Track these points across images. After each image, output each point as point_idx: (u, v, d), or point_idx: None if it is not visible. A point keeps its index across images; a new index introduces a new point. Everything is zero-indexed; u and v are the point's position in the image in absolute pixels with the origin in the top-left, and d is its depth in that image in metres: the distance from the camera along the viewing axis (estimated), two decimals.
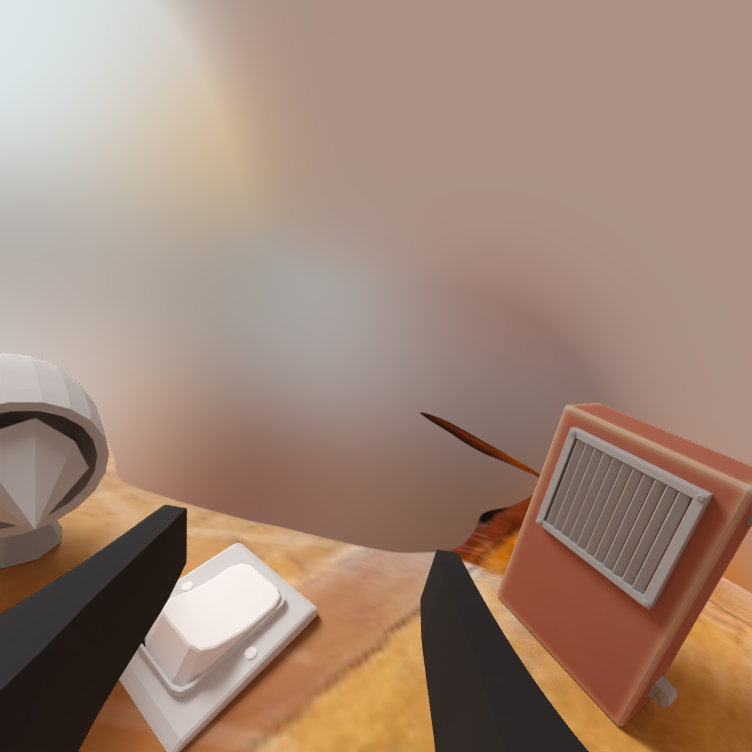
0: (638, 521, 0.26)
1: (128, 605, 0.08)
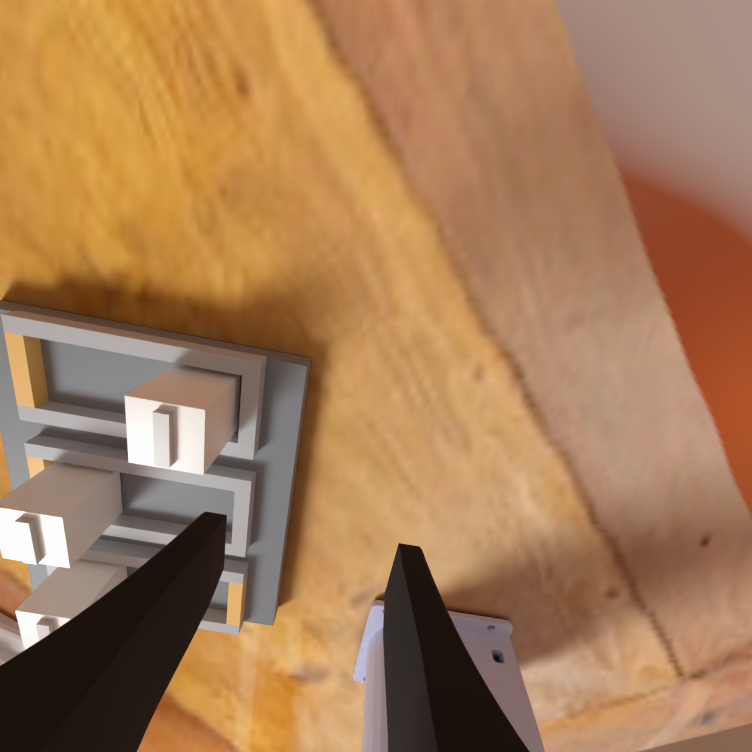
0: None
1: (178, 612, 0.08)
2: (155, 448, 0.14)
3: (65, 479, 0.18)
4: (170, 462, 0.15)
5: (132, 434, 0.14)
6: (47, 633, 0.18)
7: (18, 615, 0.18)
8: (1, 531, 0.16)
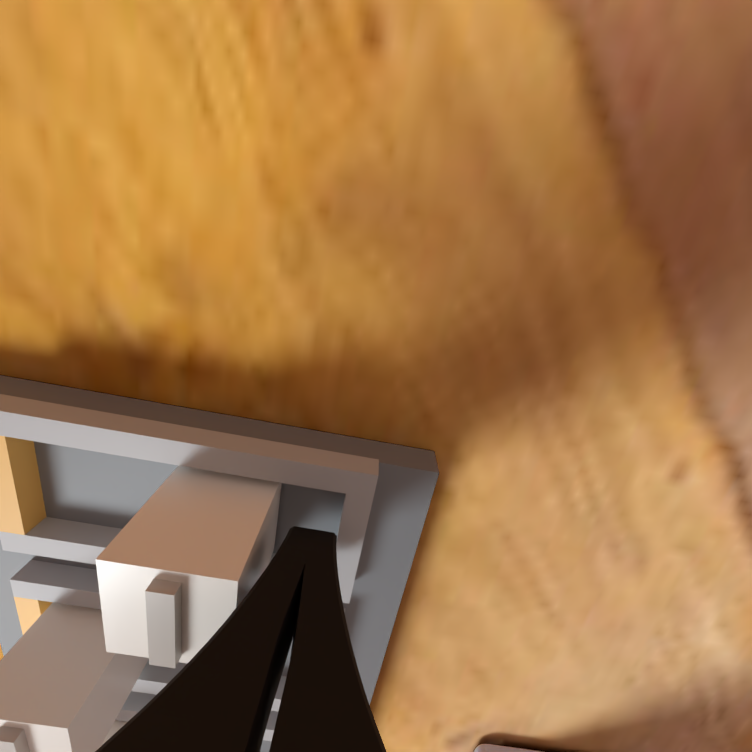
0: None
1: (287, 629, 0.08)
2: (151, 641, 0.08)
3: (71, 636, 0.12)
4: (176, 657, 0.09)
5: (111, 614, 0.08)
6: None
7: None
8: None
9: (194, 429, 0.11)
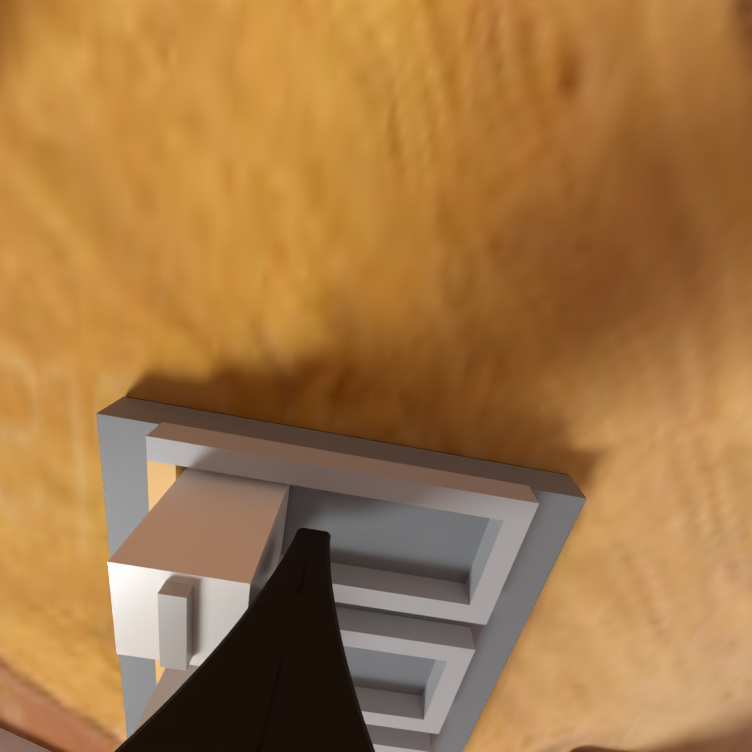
0: None
1: None
2: (162, 643, 0.08)
3: None
4: (187, 659, 0.09)
5: (122, 616, 0.08)
6: None
7: None
8: None
9: (352, 456, 0.11)
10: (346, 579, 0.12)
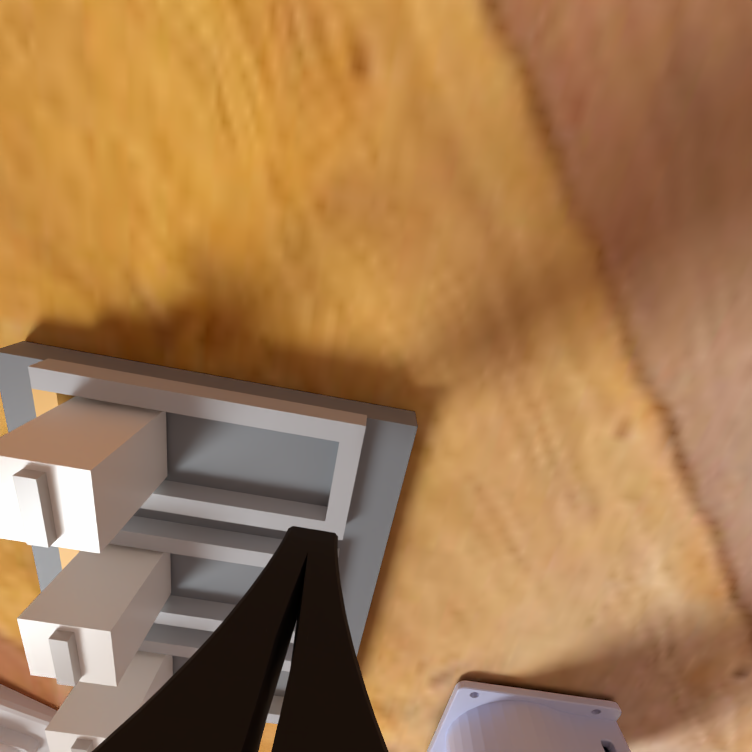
0: None
1: (286, 629, 0.08)
2: (24, 522, 0.10)
3: (107, 567, 0.14)
4: (50, 539, 0.11)
5: None
6: None
7: (48, 735, 0.15)
8: (30, 646, 0.13)
9: (212, 389, 0.13)
10: (219, 499, 0.14)
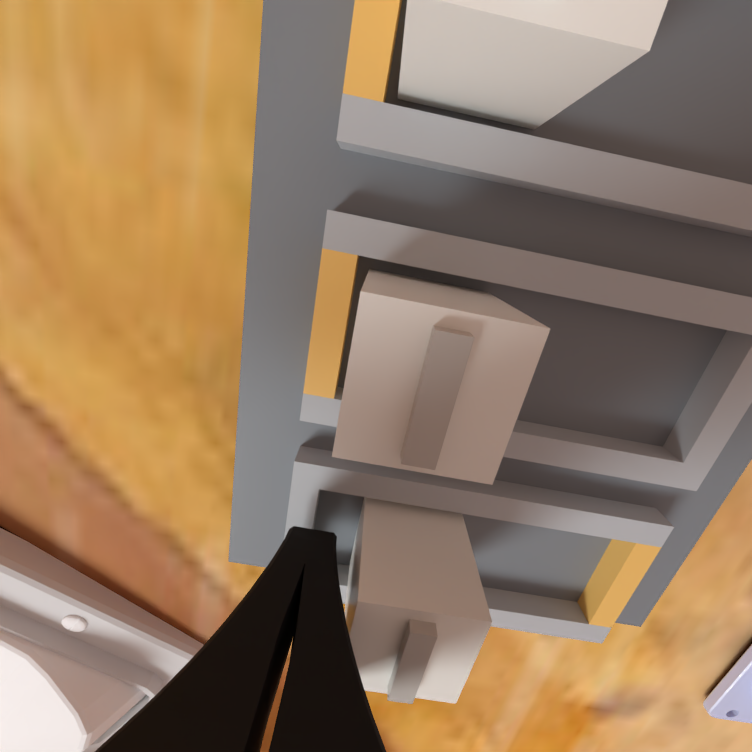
0: None
1: (287, 629, 0.08)
2: None
3: (432, 288, 0.08)
4: None
5: None
6: (426, 653, 0.08)
7: (359, 612, 0.08)
8: (359, 376, 0.06)
9: None
10: None
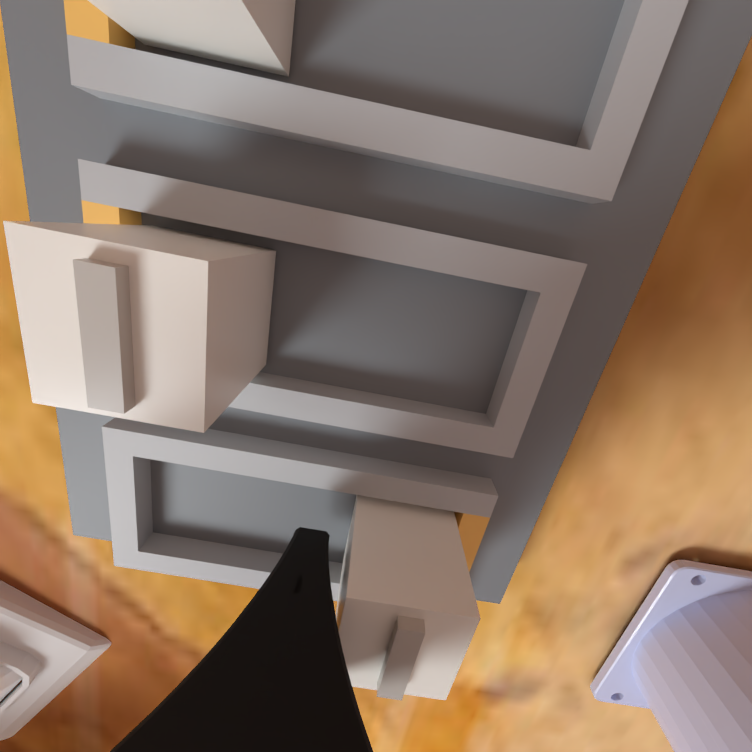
0: None
1: None
2: None
3: (177, 237, 0.08)
4: None
5: None
6: (414, 649, 0.08)
7: (348, 609, 0.08)
8: (31, 314, 0.06)
9: None
10: None
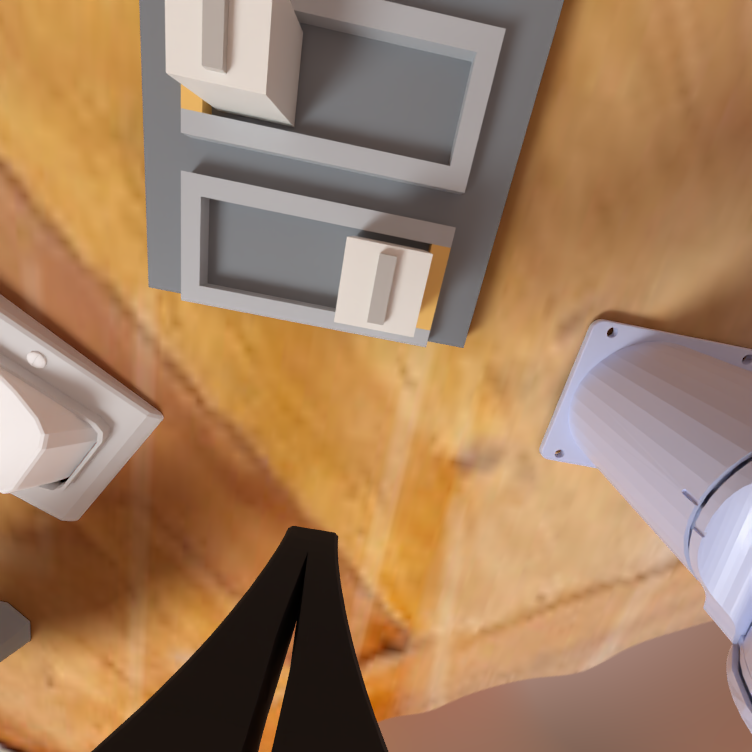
0: None
1: (286, 629, 0.08)
2: None
3: None
4: None
5: None
6: (390, 272, 0.13)
7: (348, 247, 0.13)
8: (172, 4, 0.10)
9: None
10: None
